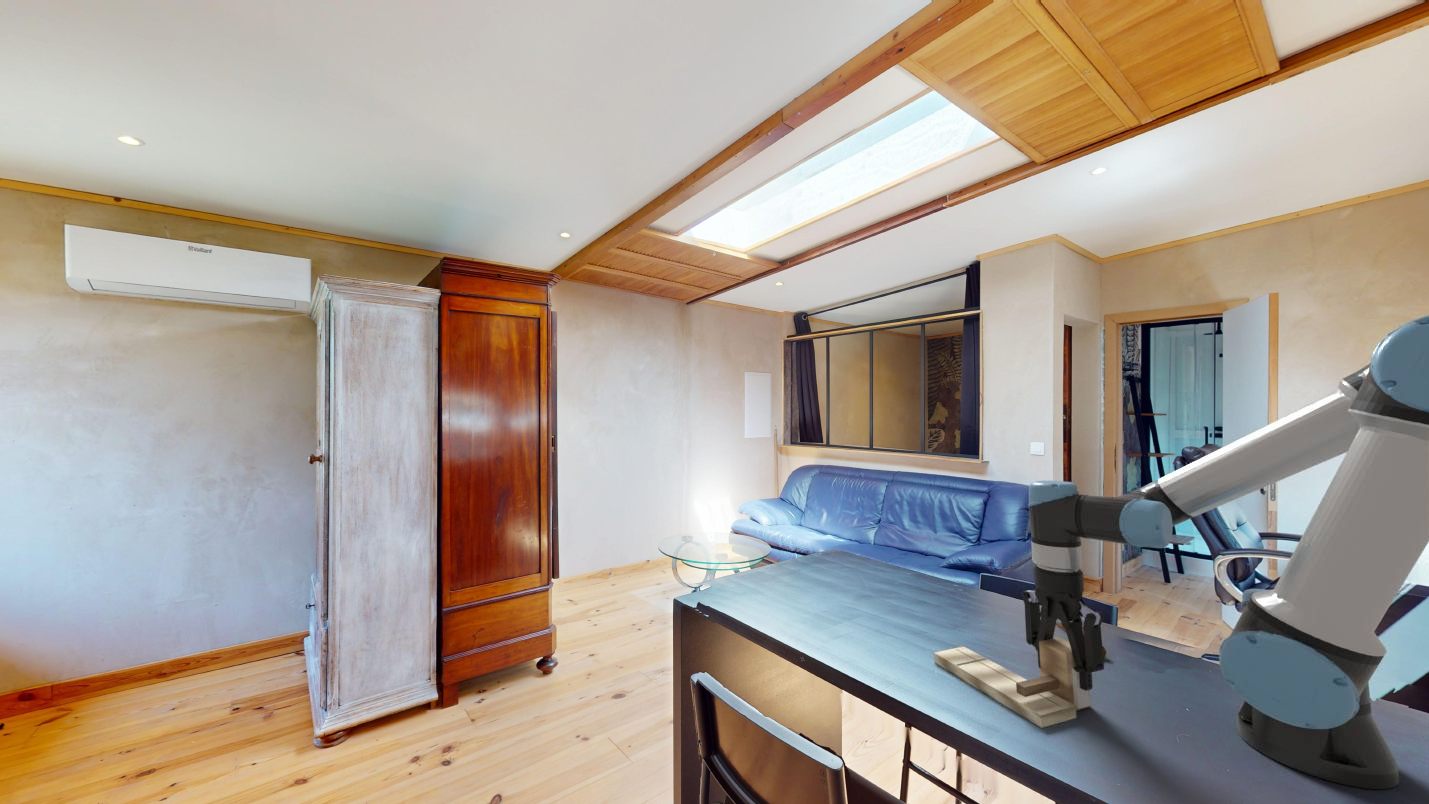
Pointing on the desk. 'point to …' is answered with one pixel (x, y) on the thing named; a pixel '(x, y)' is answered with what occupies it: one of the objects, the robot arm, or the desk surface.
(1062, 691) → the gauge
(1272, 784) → the desk surface
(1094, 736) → the desk surface
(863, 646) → the desk surface
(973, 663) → the board
